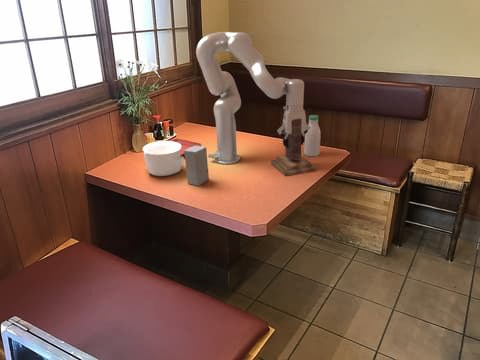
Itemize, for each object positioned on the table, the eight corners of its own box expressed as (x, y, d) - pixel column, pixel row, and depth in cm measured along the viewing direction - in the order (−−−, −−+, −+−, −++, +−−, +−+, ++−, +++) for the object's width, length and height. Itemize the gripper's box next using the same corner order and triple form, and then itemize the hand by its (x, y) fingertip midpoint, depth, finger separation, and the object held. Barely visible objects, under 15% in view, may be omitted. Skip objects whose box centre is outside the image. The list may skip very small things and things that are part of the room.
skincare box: (198, 186, 180) (196, 152, 174) (185, 183, 184) (182, 150, 177) (210, 179, 187) (207, 146, 180) (197, 176, 190) (194, 143, 184)
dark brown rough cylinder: (290, 162, 191) (291, 120, 182) (281, 157, 197) (282, 116, 188) (304, 159, 194) (306, 118, 185) (295, 154, 200) (296, 114, 191)
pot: (134, 174, 194) (130, 150, 189) (157, 161, 208) (154, 138, 203) (173, 182, 185) (170, 157, 180) (194, 168, 199) (192, 144, 194)
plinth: (284, 176, 188) (285, 169, 186) (270, 163, 202) (270, 156, 200) (316, 170, 193) (316, 163, 191) (300, 158, 206) (300, 151, 205)
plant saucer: (202, 149, 223) (202, 143, 222) (181, 160, 209) (180, 154, 208) (177, 143, 232) (176, 138, 231) (154, 154, 218) (154, 148, 217)
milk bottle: (319, 157, 207) (321, 118, 198) (303, 156, 208) (305, 118, 200) (319, 151, 214) (321, 114, 205) (304, 151, 215) (306, 113, 207)
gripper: (280, 112, 179) (279, 150, 187) (316, 107, 184) (313, 145, 192) (273, 107, 186) (272, 145, 193) (308, 103, 191) (306, 140, 198)
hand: (293, 144), depth 192 cm, fingers closed on dark brown rough cylinder, 7 cm apart
